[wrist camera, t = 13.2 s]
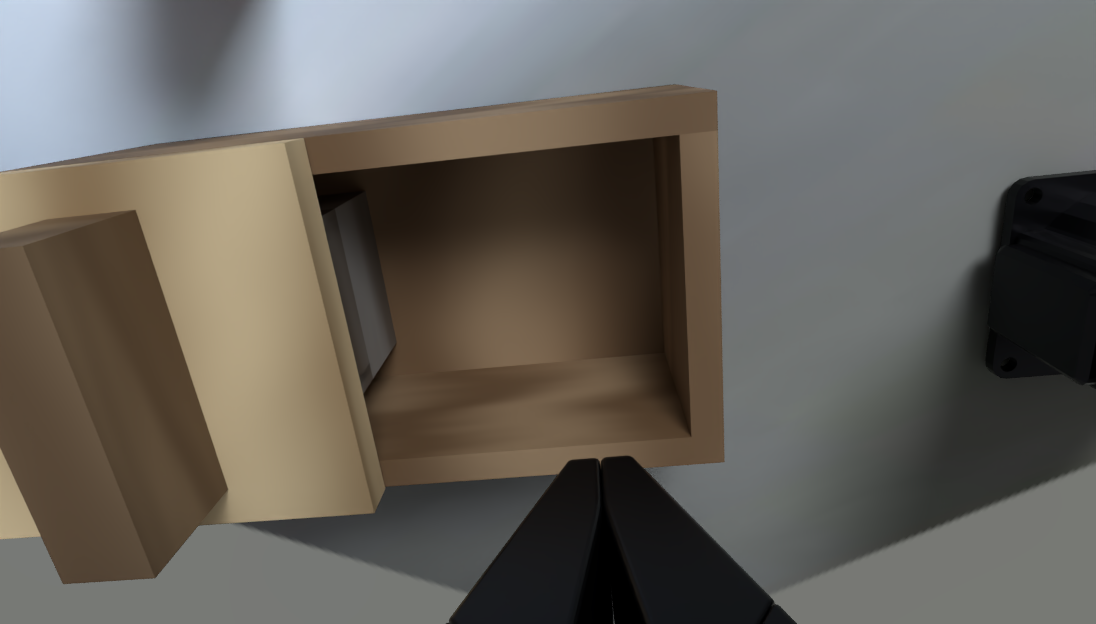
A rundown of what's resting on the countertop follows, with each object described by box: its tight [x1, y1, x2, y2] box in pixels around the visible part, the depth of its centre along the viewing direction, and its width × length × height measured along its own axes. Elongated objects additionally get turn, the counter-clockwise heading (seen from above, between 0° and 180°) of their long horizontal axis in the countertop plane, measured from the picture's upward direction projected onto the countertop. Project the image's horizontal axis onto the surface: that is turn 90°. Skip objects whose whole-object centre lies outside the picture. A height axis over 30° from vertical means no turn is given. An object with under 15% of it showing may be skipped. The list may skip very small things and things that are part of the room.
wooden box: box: [3, 84, 724, 487], centre depth 18 cm, size 16×9×6 cm, turn 96°
